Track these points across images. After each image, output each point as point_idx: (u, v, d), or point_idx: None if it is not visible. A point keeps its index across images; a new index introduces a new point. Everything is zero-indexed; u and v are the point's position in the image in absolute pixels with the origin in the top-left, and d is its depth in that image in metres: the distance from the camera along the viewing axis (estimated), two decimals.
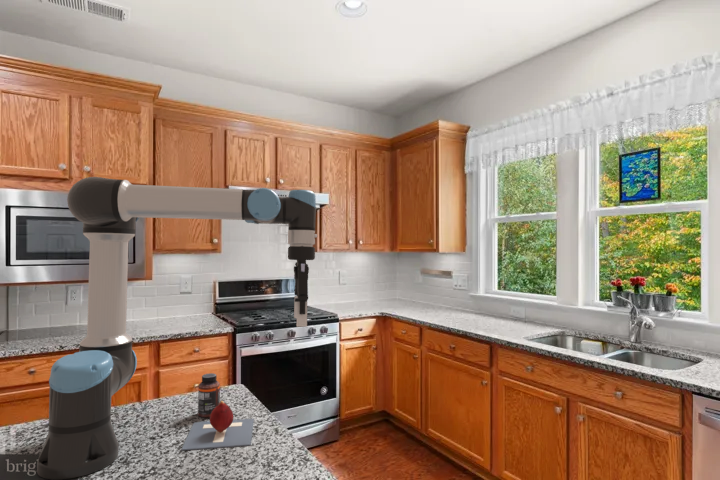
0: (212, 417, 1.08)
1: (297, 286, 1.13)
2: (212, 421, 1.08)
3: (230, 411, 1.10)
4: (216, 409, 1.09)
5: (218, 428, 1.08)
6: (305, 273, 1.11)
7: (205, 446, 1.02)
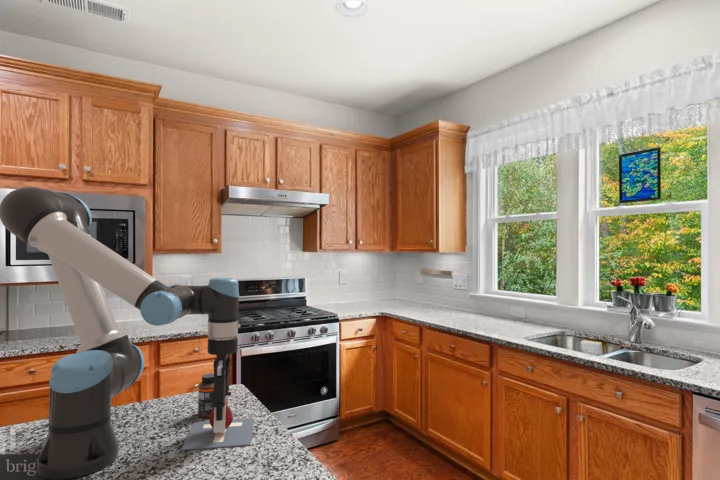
0: (211, 418, 1.08)
1: None
2: (211, 422, 1.08)
3: (229, 411, 1.10)
4: None
5: None
6: (222, 378, 1.04)
7: (205, 446, 1.02)
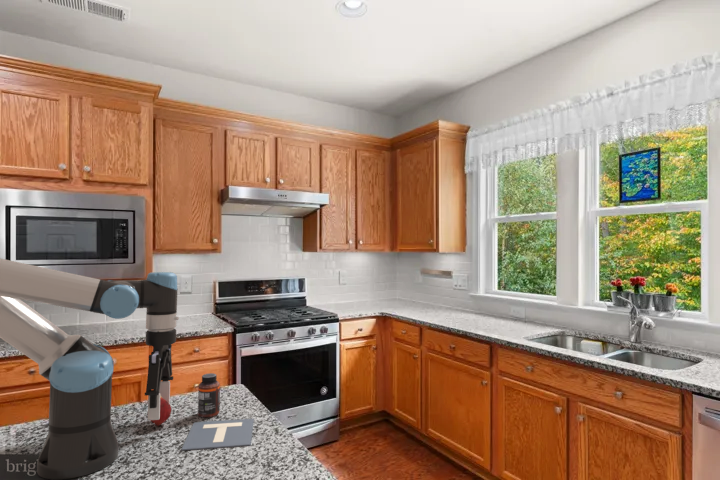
0: None
1: None
2: None
3: (167, 405, 1.14)
4: None
5: (155, 422, 1.12)
6: (156, 365, 1.08)
7: (205, 446, 1.02)
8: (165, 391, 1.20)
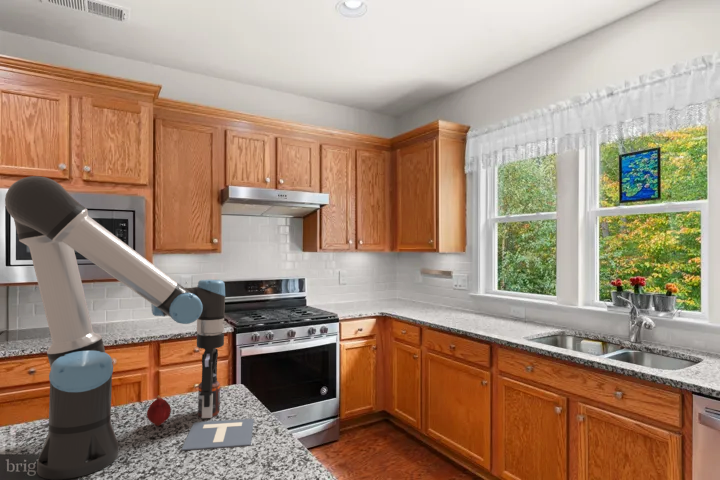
0: (148, 412, 1.12)
1: None
2: (148, 415, 1.12)
3: (167, 405, 1.14)
4: (152, 404, 1.13)
5: (154, 422, 1.12)
6: (209, 369, 1.17)
7: (205, 446, 1.02)
8: None
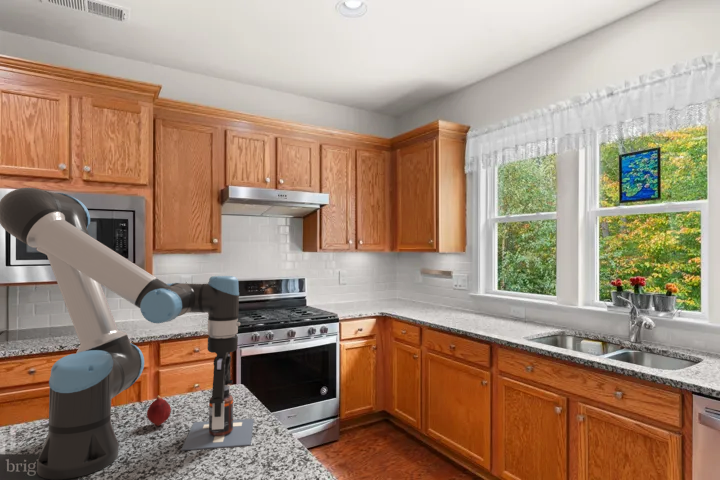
0: (148, 412, 1.12)
1: None
2: (148, 415, 1.12)
3: (167, 405, 1.14)
4: (152, 404, 1.13)
5: (154, 422, 1.12)
6: (221, 371, 1.04)
7: (205, 446, 1.02)
8: None
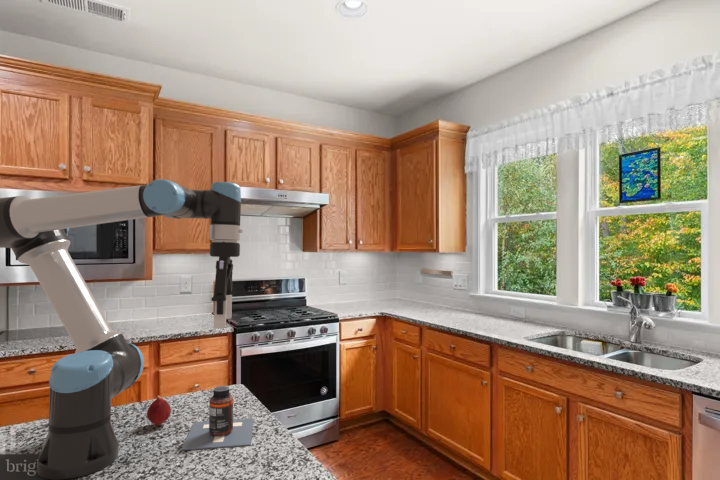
0: (148, 412, 1.12)
1: None
2: (148, 415, 1.12)
3: (167, 405, 1.14)
4: (152, 404, 1.13)
5: (154, 422, 1.12)
6: (224, 271, 1.04)
7: (205, 446, 1.02)
8: (227, 304, 1.17)
